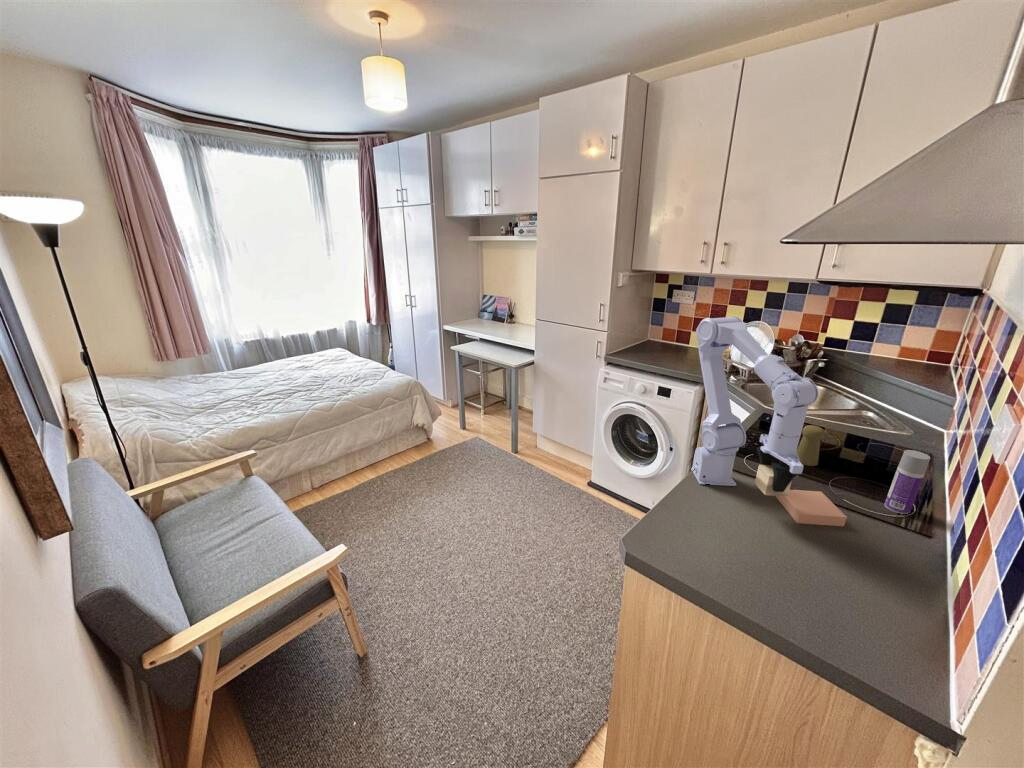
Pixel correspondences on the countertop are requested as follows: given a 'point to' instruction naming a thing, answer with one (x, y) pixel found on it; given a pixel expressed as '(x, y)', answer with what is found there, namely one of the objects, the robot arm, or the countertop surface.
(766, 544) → the countertop surface
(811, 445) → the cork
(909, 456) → the container
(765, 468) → the beech cube
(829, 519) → the terracotta block
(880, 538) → the countertop surface
